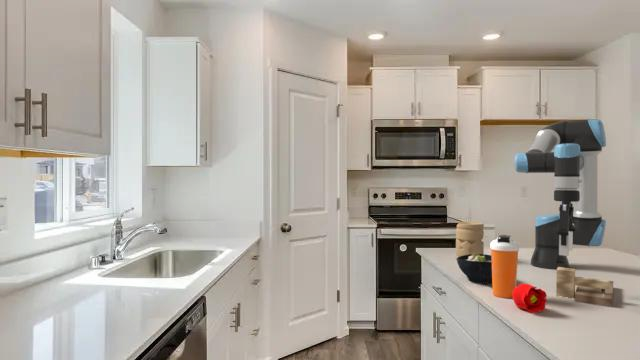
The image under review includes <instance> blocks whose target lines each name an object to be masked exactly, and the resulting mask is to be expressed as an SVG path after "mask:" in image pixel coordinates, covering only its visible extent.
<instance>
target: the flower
mask: <svg viewBox="0 0 640 360" xmlns="http://www.w3.org/2000/svg"><path fill="white" fill-rule="evenodd" d="M512 296H513V298H512V299H513V302H514V304H515V306H516V307H517V308H519V309H522V310H527V311H528V312H529V313H530V314H534V313H536V314H537V313H539V312H541V311H544V310H545V308H546V303H547V302H548V300H547V298H546V297H547V293H546V291H544V290H543V289H542V288H537V286H534V285H532V284H528V283H519V284H518V285H516V288H515V289H514V290H513V291H512Z"/></svg>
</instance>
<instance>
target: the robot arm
mask: <svg viewBox="0 0 640 360" xmlns="http://www.w3.org/2000/svg"><path fill="white" fill-rule="evenodd" d="M605 132H606V131H605V127H604V123H603V122H602V120H601V119H594V118H593V119H591V118H588V119H580V120H579V119H578V120H567V121H566V120H565V121H562V120H561V121H557V122H554V123H551V124H548V125H547V126H545V127H543V128H541V130H539V131H538V132H537V134H536V135H535V138H534V142H533V143H532V145H531V146H530V147H529V149H528V150H527V152H520V153H519V152H518V153H516V154H515V157H514V168H515V171H516V172H517V173H524V174H536V173H537V174H539V173H540V174H541V173H543V174H544V173H546V174H547V173H549V174H550V173H551V174H554V177H553V188H554V189H555V190H554V191H553V200H554V202H561V204H560V205H559V208H558V210H559V213H556V214H543V215H539V216H537V217H536V218H535V225H534V228H535V233H534V234H535V235H534V236H535V238H534V239H535V240H534V241H535V244H534V245H535V246H534V247H535V248H534V251H533V252H532V255H531V259H530V265H532V266H534V267H538V268H542V269H543V268H544V269H550V270H551V269H553V270H557V268H558V267H563V268H570V265H569V264H570V262H569V260H568V257H569V256H570V254H569V253H570V252H569V251H573V249H574V248H573V247H574V246H586V247H600V246H602V244H603V241H604V237H605V231H606V222H607V221H606V220H605V219H604V218H603V215H602V214H601V213H600V212H599V211H598V156H599V154H600V153H602V152H603V150H602V149H603V148H604V147H606V146H607V141H606V133H605ZM553 150H554V151H553ZM602 218H603V219H602ZM573 245H574V246H573Z"/></svg>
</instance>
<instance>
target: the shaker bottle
mask: <svg viewBox="0 0 640 360" xmlns="http://www.w3.org/2000/svg"><path fill="white" fill-rule="evenodd" d="M511 236H512V235H506V234H499V235H498V236H497V237H496V239H494V240H493V239H492V241H491V242H490V246H489V247H490V248H489V249H490V255H491V258H492V259H491V262H492V282H491V283H492V285H491V286H492V295H493V296H494V297H497V298H502V299H513V296H512V291H513V290H514V289H515V288H516V287H517V277H518V275H517V274H518V261H519V259H518V258H519V251H520V244H519V243H518V242H517V241H515V240H512V238H511Z"/></svg>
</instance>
